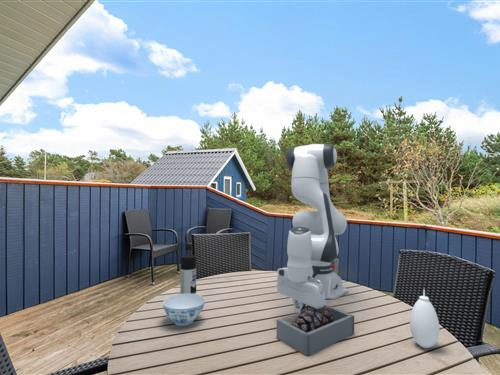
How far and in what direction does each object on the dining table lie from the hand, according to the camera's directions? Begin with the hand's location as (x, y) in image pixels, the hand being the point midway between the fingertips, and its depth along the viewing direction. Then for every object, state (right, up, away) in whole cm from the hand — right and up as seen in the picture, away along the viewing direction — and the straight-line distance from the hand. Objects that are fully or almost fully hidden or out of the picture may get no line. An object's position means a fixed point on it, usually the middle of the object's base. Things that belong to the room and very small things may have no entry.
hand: (299, 312), depth 103 cm
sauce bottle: (+37, -5, -12) cm, 39 cm away
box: (+4, -5, -6) cm, 9 cm away
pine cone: (+3, -5, -7) cm, 9 cm away
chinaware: (-42, -5, +4) cm, 42 cm away
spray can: (-44, -5, +22) cm, 50 cm away
